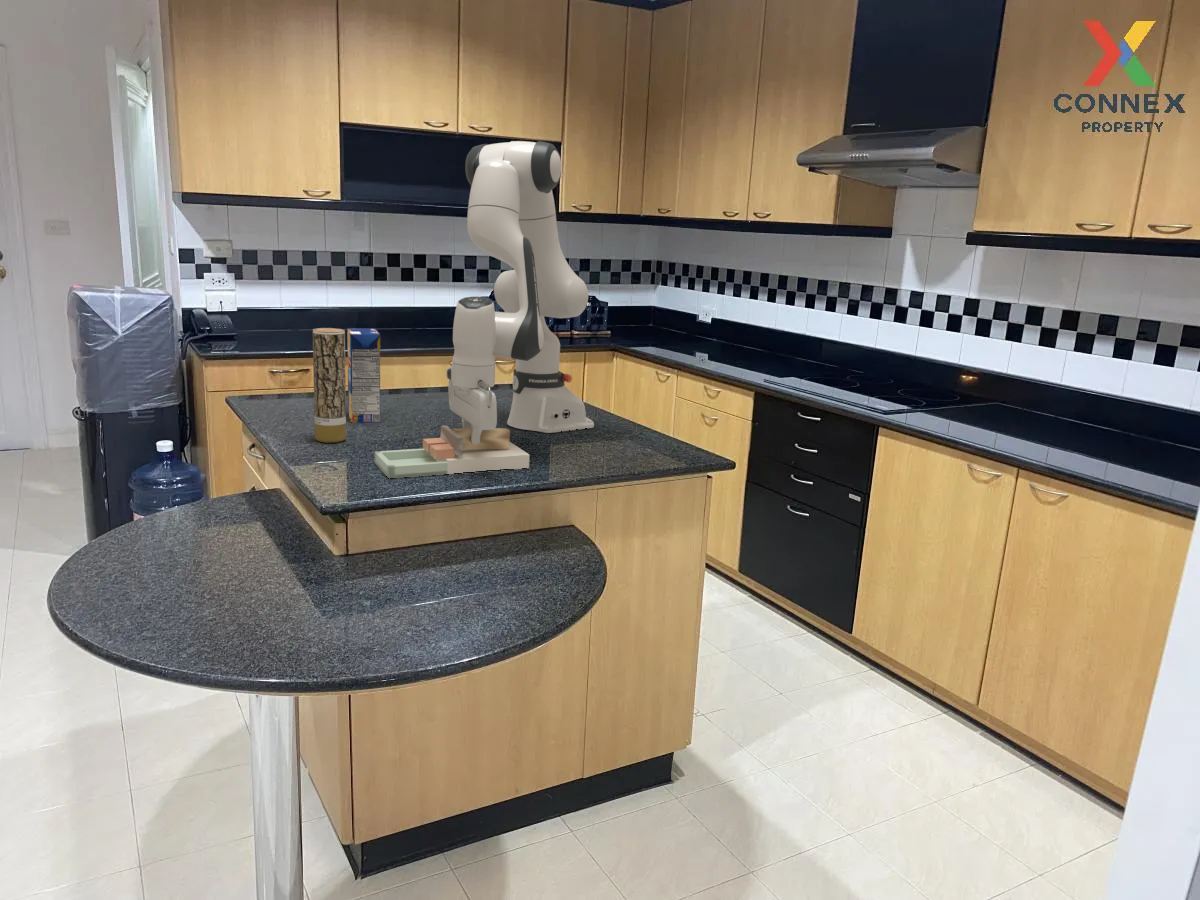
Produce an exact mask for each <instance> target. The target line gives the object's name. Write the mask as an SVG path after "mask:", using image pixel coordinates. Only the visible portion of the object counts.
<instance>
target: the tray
mask: <svg viewBox="0 0 1200 900" xmlns="http://www.w3.org/2000/svg"><path fill="white" fill-rule="evenodd" d="M373 452H374V457H373V458H374V459H373V460H374V464H375V465H376V467H377V468H378V469H379V470H380V471H381V472H382V473H383V475H384V476H387V477H388V478H389V479H388V478H387V477H386V478H387V479H388V480H391V479H390V478H396V479H405V478H404V477H410V478H420V477H421V476H423V477H433V476H432V475H436V476H445V475H444V474H447V468H448V463H447V462H446V461H443V462H437V461H436V460H435V459H434V458H432V456H431V455H430V453H428V452H427V451H425V450H424V449H423V448H408V449H398V450H397V449H395V450H379V451H377V450H376V451H373ZM419 476H420V477H419Z"/></svg>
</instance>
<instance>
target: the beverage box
mask: <svg viewBox="0 0 1200 900" xmlns="http://www.w3.org/2000/svg"><path fill="white" fill-rule="evenodd" d="M346 330H347V407H348V409H347V414H348V417H349V420H350V419H351V420H350V422H352V423H351V424H366V423H365V422H380V423H381V333H380V332H379V331H378V330H377V329H376V328H366V327H365V328H364V327H363V328H359V327H357V328H355V327H348V328H346Z"/></svg>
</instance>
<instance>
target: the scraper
mask: <svg viewBox="0 0 1200 900" xmlns="http://www.w3.org/2000/svg"><path fill="white" fill-rule="evenodd" d="M471 432H472V428H463V427H461V428H460V427H459V428H457V427H453V428H450V427H449V426H448V425H440V436H439V438H442V439H443V440H445V441H446V442H447V444H450V445H451V446H452V447H453V448H455V454H456V455H462V449H509V441H510V439H511V438H510V437H511V429H509V428H507V427H496V428H495V429H492V430H482V433H481V435H480V443H479V444H472V443H471V442H470V434H471Z"/></svg>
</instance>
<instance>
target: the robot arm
mask: <svg viewBox="0 0 1200 900" xmlns="http://www.w3.org/2000/svg"><path fill="white" fill-rule="evenodd" d="M464 168H465V169H464V170H465V176H466V179H467V181H468V183H469V185H470V192H469V198H468V204H467V205H468V207H467V216H466V217H467V219H466V220H467V221H466V222H467V224H466V225H467V234H468V237H469V238H470V240H471V242H472V243H473V244H474V246H475V247H477V249H479V250H480V251H482V252H484V253H485V255H486V254H487V255H488V256H491V257H492V258H495V259H497V260H499V261H501V262H503V263H505V264H507V265H508V266H510V267H511V269H509V270H505V271H502V272H501V273H500V274H499V276H498V277H497V278H496V280H495V282H494V286H493V293H494V299H495V301H496V303H497V304H498V306H499V307H500V308H501V309H502V310H503V311H495V304H494V302H493V300H492V299H489V298H488V297H484V296H468V297H463V298H460V299H459V300H458V301H457V302H456V308H455V311H454V318H453V324H452V325H453V326H452V343H453V349H454V353H453V356H452V360H451V361H452V362H451V367H448V368H446V375H445V376H446V378H447V380H448V385H447V386H448V387H447V388H448V403H449V409H450V411H451V412H453V413H454V414H456V415H458V416H459V417H460V418H461V424H462V425H461V426H462V428H472V432H471V434H470V442H471V443H472V444H479V443H480V435H481V433H482V430H492V429H495V428H497V423H498V411H497V410H498V409H497V407H498V406H497V404H498V403H497V397H496V393H495V392H494V391H492V389H491V388H492V387H494V386H495V383H496V382H495V378H496V360H495V357H496V358H510V359H512V360H515V368H514V369H513V377H512V391H513V395H512V403H511V407H510V412H509V416H508V418H507V421H506V424H507V425H508V426H509V427H512V428H515V429H519V430H525V431H526V430H527V431H535V432H540V433H545V434H546V433H547V434H551V433H560V432H561V431H562V432H569V430H570V431H577V430H576V429H578V430H584V429H585V428H587V429H593V428H594V427H595V422H594V421H593V420H592V419H591V418H588V417H587V414H586V407H585V404H584V402H583V400H582V399H581V398H580V397H579V396H578V395H576V394H575V393H574V392H573V391H572V390H571V389H569V388H568V387H567V386H566V385H565V384H566V383H572V381H573V376H572V375H571V374H569V373H563V372H562V371H561V370H560V360H561V359H560V355H561V353H560V352H561V343H560V340H559V337H558V336H557V335H556V334H554V333H553V332H552V331H551V330H550V329H549V327H548V325H547V323H546V319H545V317H548V318H555V319H568V318H570V319H571V318H576V317H579V316H580V315H582V313H584V311H585V309H586V307H587V306H588V301H589V291H588V287H587V285H586V283H585V281H584V280H583V279H582V278H581V277H579V276H578V275H577V274H576V272H575V271H574V270H573V269H572V267H571V266H570V265H569V263H568V261H567V259H566V258H565V255H564V253H563V250H562V248H561V245H560V244H561V243H560V240H559V231H558V223H557V222H558V221H557V213H556V204H555V198H554V194H553V190H554V189H555V188H556V186H557V185H558V184H559V182H560V180H561V177H562V170H563V169H562V158H561V154H560V152H559V150H558V149H557V148H556V146H555V145H554V144H553V143H551V142H550V143H549V142H546V141H539V140H538V141H537V142H534V141H524V140H516V141H515V140H511V141H510V142H498V143H490V144H488V143H484V144H479V145H475V146H473V147H472V148H471V149H470V150H469V152H468V153H467V155H466V158H465V166H464ZM565 382H566V383H565ZM585 430H586V429H585ZM562 432H561V433H562Z"/></svg>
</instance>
